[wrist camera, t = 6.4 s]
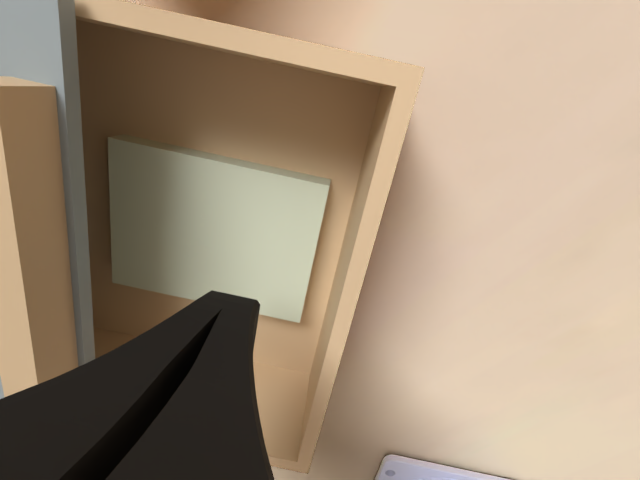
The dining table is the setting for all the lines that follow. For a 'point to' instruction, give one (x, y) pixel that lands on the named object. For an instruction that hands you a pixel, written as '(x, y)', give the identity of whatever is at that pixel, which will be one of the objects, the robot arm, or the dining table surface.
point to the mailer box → (236, 189)
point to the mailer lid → (42, 198)
